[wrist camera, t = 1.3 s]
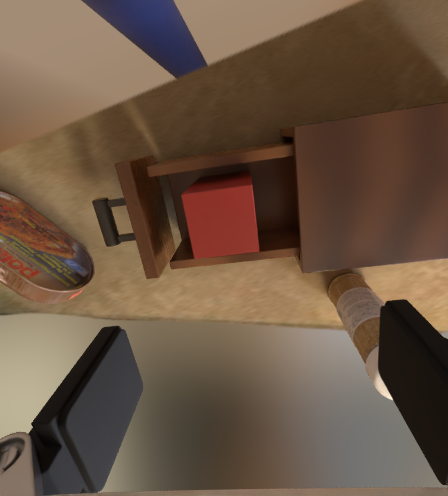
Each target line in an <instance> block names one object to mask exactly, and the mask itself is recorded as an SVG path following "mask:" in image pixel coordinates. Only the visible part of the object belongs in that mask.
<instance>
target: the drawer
mask: <svg viewBox="0 0 448 496" xmlns="http://www.w3.org/2000/svg"><path fill="white" fill-rule="evenodd" d="M115 166H116V169H117V173H118V177H119V180H120V184H121V188H122V191H123V195H124V198H119V199H112V200H109V199H108V198H100V199H96V200H93V201H92V203H93V206H94V209H95V212H96V215H97V218H98V222H99V225H100V228H101V231H102V234H103V237H104V241H105V244H106V246H108V247H111V246H115V245H118V244H120V243H121V242H125V241H133V240H136V242H137V246H138V249H139V253H140V257H141V260H142V264H143V267H144V271H145V275H146V278H147V279H151V278H159V277H160V275H161V273H162V272H163V270H164V268H165V267H166V265H167V263H168V262H169V260H170V258H171V257H172V255H173V253H174V252H175V245H174V241H173V237H172V232H171V228H170V223H169V219H168V214H167V210H166V206H165V201H164V197H163V192H162V188H161V184H160V179H159V176H160V175H167V174H168V178H169V183H170V188H171V192H172V197H173V201H174V206H175V211H176V215H177V220H178V225H179V229H180V234H181V239H182V241H181V243H180V245H179V247H178V248H177V250H176V252H175V253H174V255H173V257H172V258H171V260H170V267H171V269H180V268H189V267H198V266H207V265H217V264H226V263H235V262H244V261H253V260H263V259H272V258H281V257H290V256H299V255H300V245H299V228H298V211H297V194H296V177H295V160H294V143H293V141H288V142H281V143H275V144H268V145H262V146H256V147H249V148H243V149H236V150H230V151H223V152H217V153H210V154H204V155H197V156H191V157H185V158H178V159H172V160H166V161H163V162H160V163H157V164H156V161H155V157H154V156H149V157H143V158H138V159H134V160H129V161H125V162H120V163H116V164H115ZM247 170H250V173H251V180H252V187H253V196H254V205H255V214H256V222H257V231H258V240H259V249H260V251H259V252H251V253H243V254H234V255H225V256H216V257H207V258H198V259H194V255H193V250H192V246H191V241H190V236H189V231H188V226H187V221H186V216H185V211H184V206H183V201H182V196H181V194H182V193H183V192H185V191H186V190H187V189H188V188H189V187H190V186H191V185H192V184H193V183H194V182H195V181H196V180H197V179H198V178H200V177H206V176H213V175H220V174H227V173H234V172H241V171H247ZM123 205H126V206H127V209H128V213H129V217H130V220H131V224H132V228H133V231H134V233H129V234H121V235H119V233H118V230H117V226H116V223H115V220H114V216H113V213H112V209H111V207H116V206H123Z"/></svg>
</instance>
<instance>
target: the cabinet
mask: <svg viewBox="0 0 448 496" xmlns="http://www.w3.org/2000/svg"><path fill="white" fill-rule="evenodd" d="M280 135H281V142H288V141H293V143H294V160H295V177H296V194H297V211H298V228H299V245H300V255H299V256H295V257H296V259H297V261H298V264H299V266H300V269H301V271H302V273H311V272H321V271H331V270H341V269H351V268H361V267H371V266H380V265H390V264H400V263H410V262H420V261H430V260H440V259H448V102H444V103H438V104H431V105H425V106H419V107H413V108H406V109H400V110H394V111H388V112H382V113H375V114H369V115H363V116H357V117H350V118H344V119H338V120H332V121H326V122H319V123H313V124H307V125H301V126H294V127H288V128H282V129H280Z"/></svg>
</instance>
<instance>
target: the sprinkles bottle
mask: <svg viewBox="0 0 448 496" xmlns="http://www.w3.org/2000/svg"><path fill="white" fill-rule="evenodd" d="M328 294H329V298H330V300H331V302H333V304H334V305H335V307H336V309H337V312H338V315H339V317H340V318H341V320H342V322H343V324H344V326H345V328H346V330H347V332H348V334H349V336H350V338H351V339H352V341H353V343H354V345H355V347H356V348H357V349H358V351H359V353H360V355H361V357H362V359H363V361H364V362H365V364H366V371H367V373H368V375H369V377H370V379H371V381H372V383H373V384H374V386H375V387H376V389H377V390H378V392H379V393H380V394H382V395H383V396H385V397H387V398H389V399H392V397H391V395H390V393H389V391H388V390H387V388H386V386H385V384H384V382H383V381H382V379H381V377H380V374H379V371H378V349H379V326H380V308H381V306H385V304H384V303H383V301H382V300H381V299H380V298H379V297H378V295H377V294H376V293H375V292H374V291H373V290H372V289H371V288H370V287H369V285H368V284H367V282H366V280H365V279H364V278H363V277H361V276H360V275H357V274H351V273H347V274H344V275H340V276H338V277H337V278H335V279H334V280H333V281H332V282H331V284H330V286H329V289H328ZM392 400H393V399H392Z"/></svg>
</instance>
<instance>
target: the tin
mask: <svg viewBox="0 0 448 496" xmlns="http://www.w3.org/2000/svg"><path fill="white" fill-rule="evenodd" d="M94 273H95V266H94V262H93V260H92V257H91V256H90V254H89V253H88V251H87V250H86V249H85V248H84V247H83V246H82V245H81V244H80V243H78V242H77V241H76V240H74V239H73V238H72V237H70V236H69V235H67V234H66V233H65V232H63V231H62V230H61V229H59V228H58V227H57V226H55V225H54V224H53V223H51V222H50V221H49V220H47V219H46V218H45V217H43V216H42V215H41V214H40V213H38V212H37V211H36V210H34V209H33V208H32V207H30V206H29V205H28V204H26V203H25V202H23V201H22V200H20V199H18V198H17V197H15V196H13V195H10V194H8V193H5V192H3V191H0V282H1V283H3V284H4V285H6V286H7V287H9V288H10V289H12V290H13V291H15V292H16V293H18V294H19V295H21V296H23V297H25V298H27V299H29V300H32V301H35V302H39V303H47V304H56V303H63V302H66V301H69V300H71V299H73V298H74V297H76V296H77V295H78V294H79V293H80V292H81V291H82V290H83V289H84V288H85V286H87V285H88V284H89V283H90V282H91V280H92V279H93V276H94Z"/></svg>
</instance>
